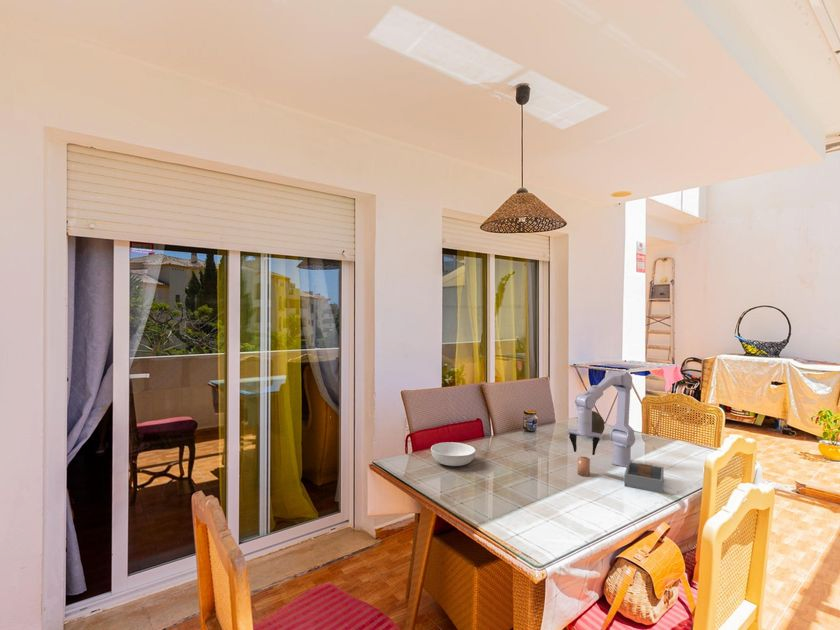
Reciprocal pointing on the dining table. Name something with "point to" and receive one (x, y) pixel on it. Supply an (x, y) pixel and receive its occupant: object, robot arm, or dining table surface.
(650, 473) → the walnut block
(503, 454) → the dining table surface
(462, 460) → the serving bowl
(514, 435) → the dining table surface
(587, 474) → the terracotta cylinder
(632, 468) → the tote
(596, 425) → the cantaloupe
